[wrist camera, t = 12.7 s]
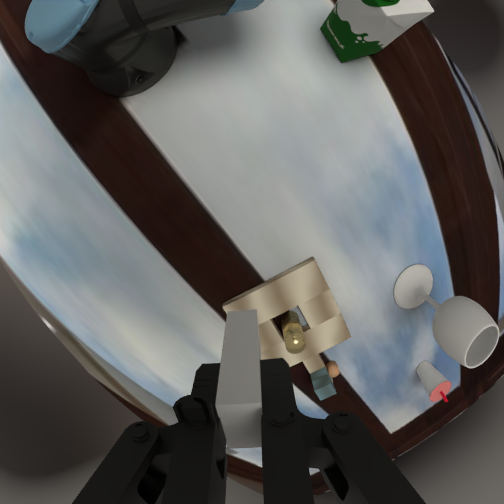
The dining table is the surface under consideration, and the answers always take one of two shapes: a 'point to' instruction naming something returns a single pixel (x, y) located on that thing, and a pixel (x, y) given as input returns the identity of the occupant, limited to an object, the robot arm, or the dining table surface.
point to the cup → (433, 381)
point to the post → (292, 333)
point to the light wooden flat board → (314, 310)
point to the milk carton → (370, 24)
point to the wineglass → (450, 318)
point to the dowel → (332, 369)
